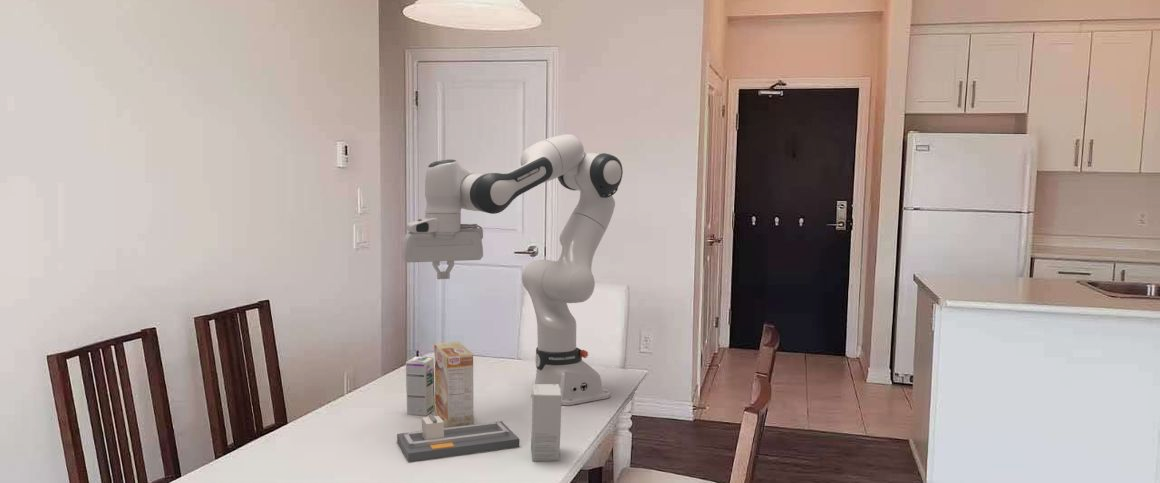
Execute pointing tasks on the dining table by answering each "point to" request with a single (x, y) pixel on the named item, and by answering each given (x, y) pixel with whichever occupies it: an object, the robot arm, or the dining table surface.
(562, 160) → the robot arm
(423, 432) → the fader tab
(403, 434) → the board
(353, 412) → the dining table surface
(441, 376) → the coffeecake box
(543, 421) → the skincare box
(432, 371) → the syrup box
